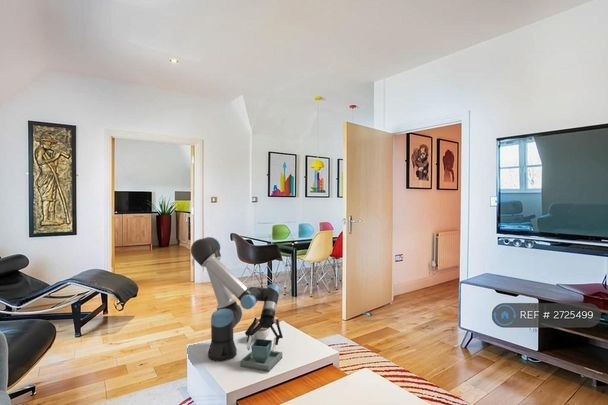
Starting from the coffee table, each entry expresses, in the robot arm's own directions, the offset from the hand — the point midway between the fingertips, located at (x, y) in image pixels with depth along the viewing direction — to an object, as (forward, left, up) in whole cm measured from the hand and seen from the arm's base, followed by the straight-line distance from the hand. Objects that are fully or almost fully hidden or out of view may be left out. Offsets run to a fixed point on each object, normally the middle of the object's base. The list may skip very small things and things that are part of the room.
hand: (260, 350), depth 168 cm
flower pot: (0, +2, -6) cm, 7 cm away
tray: (0, +2, -7) cm, 7 cm away
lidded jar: (-15, +29, -7) cm, 34 cm away
